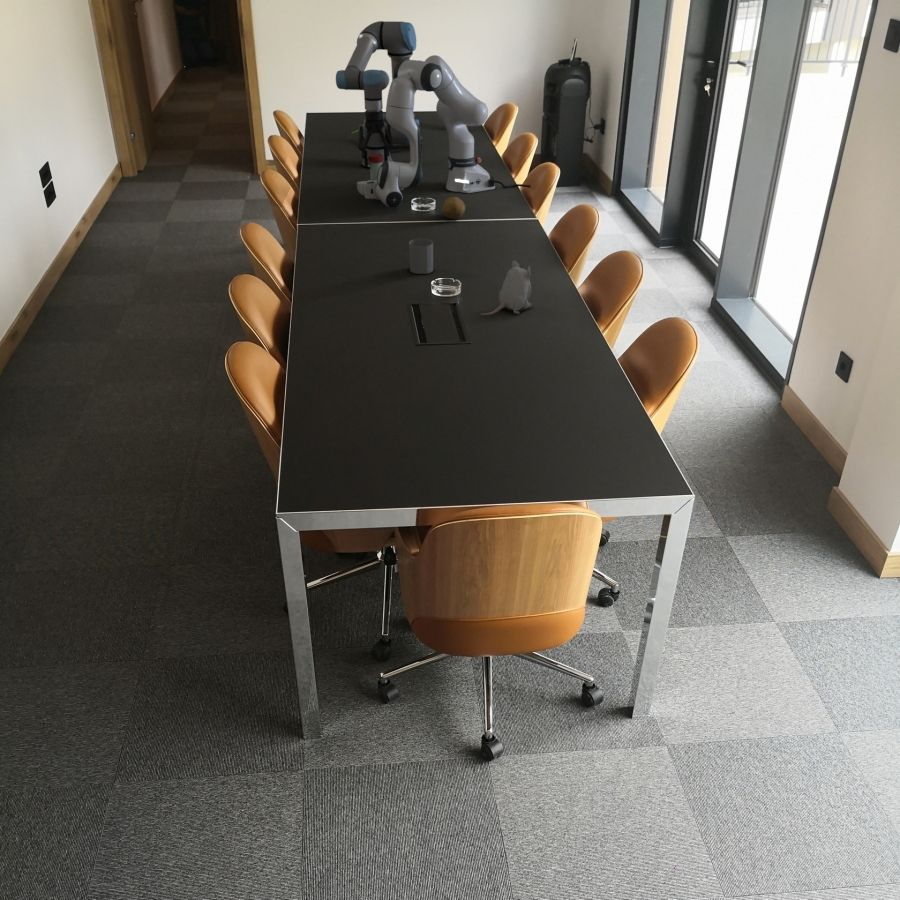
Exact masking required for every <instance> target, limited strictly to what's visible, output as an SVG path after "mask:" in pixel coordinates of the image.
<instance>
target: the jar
mask: <svg viewBox="0 0 900 900" xmlns="http://www.w3.org/2000/svg"><path fill="white" fill-rule="evenodd" d="M382 163H383V162H380V163H372V162H370V168H369V172H370V173H369V176H370V179H369V180H371V181H372V180H377V173H378V169H379V167H380V166H381V164H382Z"/></svg>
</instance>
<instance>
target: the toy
mask: <svg viewBox="0 0 900 900" xmlns="http://www.w3.org/2000/svg"><path fill="white" fill-rule="evenodd" d="M531 272H532V271H531V265H530V264H529V265H528V267H527V270H526V269H525V268H522V267H520V264H519V263H518V261H517V260H515V259H513V260H512V263H511V268H510V269H509V270H508V271H507V273H506V275H505V277H504V280H503V283H502V285H501V286H502V287H501V289H500V290H499V293H498V302H499V303H498V304H499V306H498V307H496V308H495V309H494V310H493V311H490V312H486V313H481V315H483V316H490V315H491V316H492V315H494V314H496V313H498V312H500V311H501V310H504V309H505V308H507V309H509V310H512V311H513V314H516V315H519V314H521V313H520V311H519V310H521V309H522V310H527V309H529V308H533V304H532V303H530V302H529V299H530V298H531V294H532V285H531V282H530V281H531V280H530V279H531V275H532V273H531Z"/></svg>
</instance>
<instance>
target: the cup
mask: <svg viewBox="0 0 900 900" xmlns="http://www.w3.org/2000/svg"><path fill="white" fill-rule="evenodd" d="M408 253H409V272H411V273H412V274H416V275H426V274H430V273H432V272H434V241H433V240H431V239H428V238H422V237H421V238H420V237H419V238H414V239H411V240H410V241H409V242H408Z"/></svg>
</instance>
